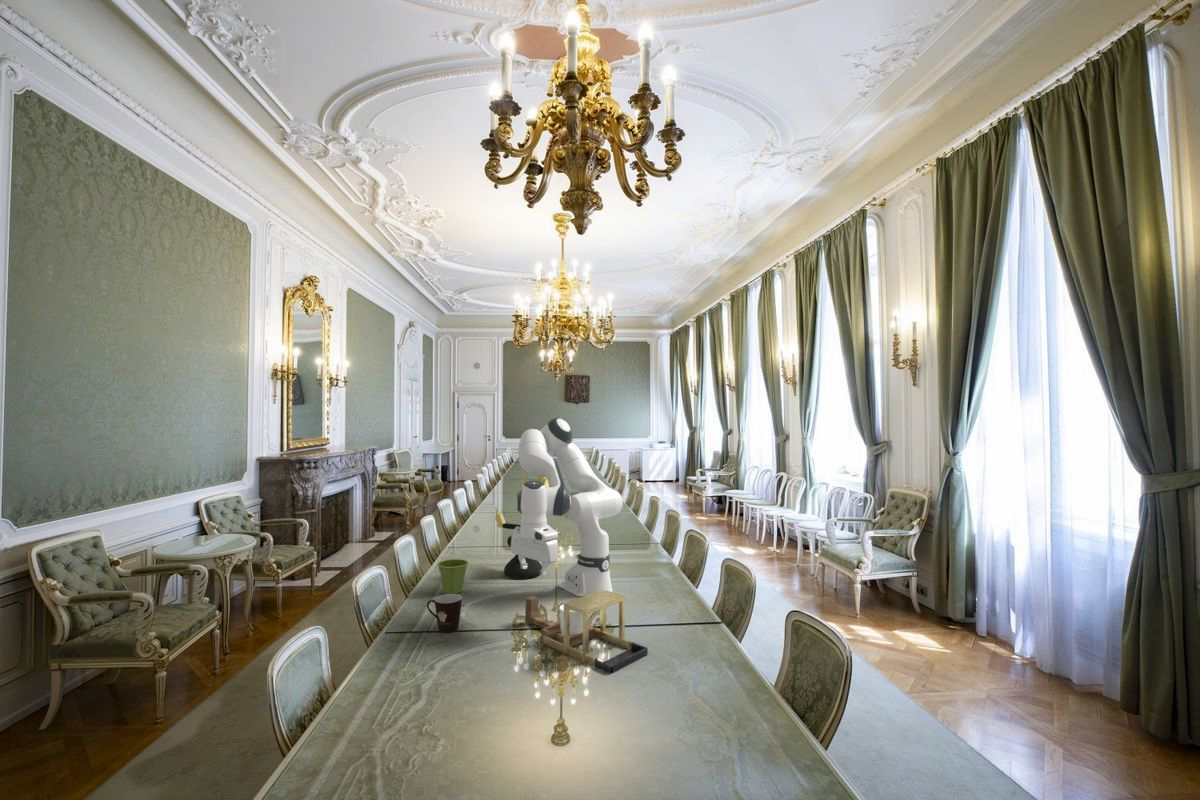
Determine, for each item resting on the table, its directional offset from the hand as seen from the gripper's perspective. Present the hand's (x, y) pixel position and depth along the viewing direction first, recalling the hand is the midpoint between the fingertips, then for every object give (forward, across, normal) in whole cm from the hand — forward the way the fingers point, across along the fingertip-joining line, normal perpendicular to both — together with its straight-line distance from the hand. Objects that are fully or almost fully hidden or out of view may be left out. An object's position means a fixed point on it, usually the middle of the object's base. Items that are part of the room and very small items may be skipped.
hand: (533, 571), depth 186 cm
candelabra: (+18, -42, +34) cm, 56 cm away
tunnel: (+17, +29, -1) cm, 33 cm away
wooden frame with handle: (+17, +11, -1) cm, 20 cm away
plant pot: (+18, -46, 0) cm, 50 cm away
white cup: (+17, +19, 0) cm, 25 cm away
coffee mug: (+18, -18, -22) cm, 33 cm away
